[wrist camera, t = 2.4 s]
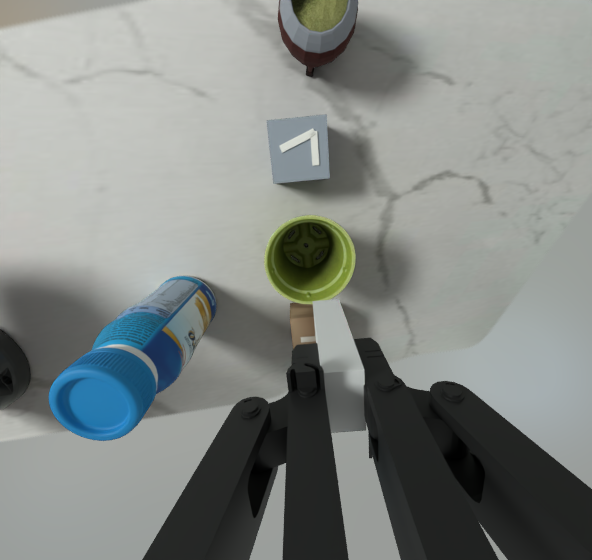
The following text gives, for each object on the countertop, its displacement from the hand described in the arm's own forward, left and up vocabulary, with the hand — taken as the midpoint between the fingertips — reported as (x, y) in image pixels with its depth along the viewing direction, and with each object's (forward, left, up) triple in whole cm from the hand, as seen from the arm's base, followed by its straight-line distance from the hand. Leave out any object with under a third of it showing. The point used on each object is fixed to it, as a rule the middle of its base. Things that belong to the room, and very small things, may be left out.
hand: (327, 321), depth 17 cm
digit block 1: (-6, -9, -22) cm, 25 cm away
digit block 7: (+5, +10, -22) cm, 25 cm away
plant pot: (0, 0, -22) cm, 22 cm away
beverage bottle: (-18, +3, -22) cm, 29 cm away
